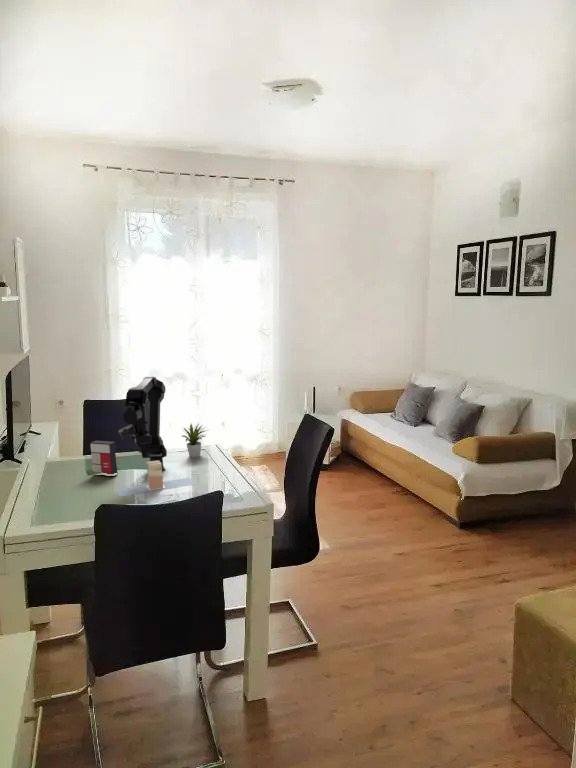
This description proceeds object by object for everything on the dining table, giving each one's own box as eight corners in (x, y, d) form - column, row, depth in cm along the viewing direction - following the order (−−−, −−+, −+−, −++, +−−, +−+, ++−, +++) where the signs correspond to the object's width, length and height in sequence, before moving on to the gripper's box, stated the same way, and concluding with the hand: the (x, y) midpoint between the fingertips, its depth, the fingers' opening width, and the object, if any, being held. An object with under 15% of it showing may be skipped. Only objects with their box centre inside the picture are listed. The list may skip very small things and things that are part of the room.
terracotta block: (148, 485, 238) (147, 474, 237) (160, 483, 240) (159, 472, 239) (150, 489, 233) (149, 477, 232) (163, 487, 235) (162, 475, 234)
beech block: (147, 474, 237) (146, 462, 236) (160, 472, 239) (159, 460, 238) (149, 477, 232) (148, 465, 232) (162, 475, 234) (161, 463, 233)
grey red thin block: (92, 475, 258) (88, 442, 255) (98, 472, 262) (95, 440, 259) (112, 477, 254) (109, 444, 251) (118, 474, 258) (115, 441, 255)
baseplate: (116, 491, 236) (116, 489, 235) (189, 479, 247) (189, 477, 247) (119, 498, 226) (119, 496, 226) (195, 486, 237) (195, 484, 237)
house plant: (200, 461, 272) (197, 427, 269) (174, 460, 276) (171, 426, 274) (214, 453, 285) (212, 420, 282) (189, 452, 290) (187, 419, 287)
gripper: (116, 416, 246) (119, 452, 248) (121, 425, 229) (125, 463, 231) (143, 413, 250) (146, 449, 252) (150, 421, 233) (153, 459, 235)
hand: (142, 455), depth 243 cm, fingers open, 9 cm apart
